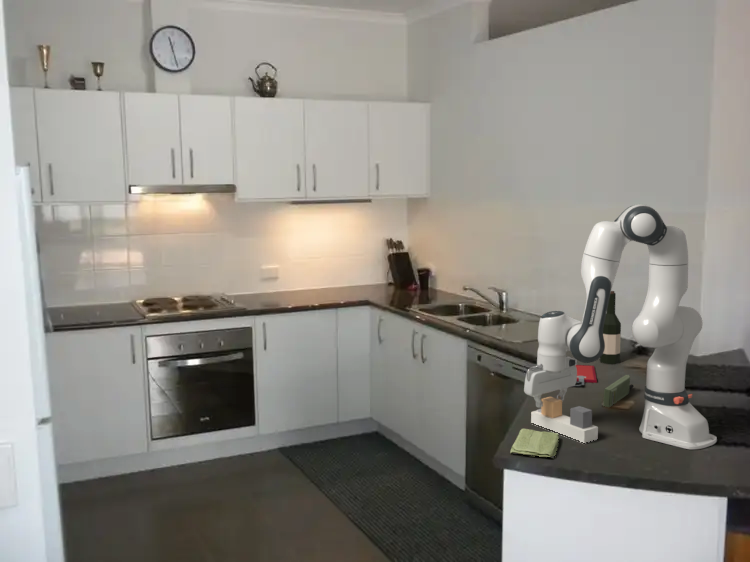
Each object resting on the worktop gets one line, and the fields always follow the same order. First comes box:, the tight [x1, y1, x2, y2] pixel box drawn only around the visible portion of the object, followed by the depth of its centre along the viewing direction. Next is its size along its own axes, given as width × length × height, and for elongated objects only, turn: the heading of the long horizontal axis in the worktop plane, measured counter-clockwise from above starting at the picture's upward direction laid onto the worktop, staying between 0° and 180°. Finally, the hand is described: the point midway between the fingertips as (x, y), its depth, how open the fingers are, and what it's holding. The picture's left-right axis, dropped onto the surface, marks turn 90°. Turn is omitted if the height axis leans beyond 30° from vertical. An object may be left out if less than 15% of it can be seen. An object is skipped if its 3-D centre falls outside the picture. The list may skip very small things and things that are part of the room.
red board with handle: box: [573, 364, 598, 387], centre depth 294 cm, size 30×3×15 cm
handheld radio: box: [602, 374, 634, 408], centre depth 266 cm, size 7×3×25 cm
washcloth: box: [509, 428, 560, 458], centre depth 223 cm, size 13×18×3 cm
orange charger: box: [540, 396, 563, 418], centre depth 238 cm, size 5×4×7 cm
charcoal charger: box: [569, 405, 593, 429], centre depth 228 cm, size 5×4×7 cm
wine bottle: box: [599, 290, 622, 365], centre depth 312 cm, size 8×8×30 cm
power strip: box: [530, 408, 599, 444], centre depth 235 cm, size 22×6×5 cm, turn 33°
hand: (549, 403), depth 238 cm, fingers open, 8 cm apart
